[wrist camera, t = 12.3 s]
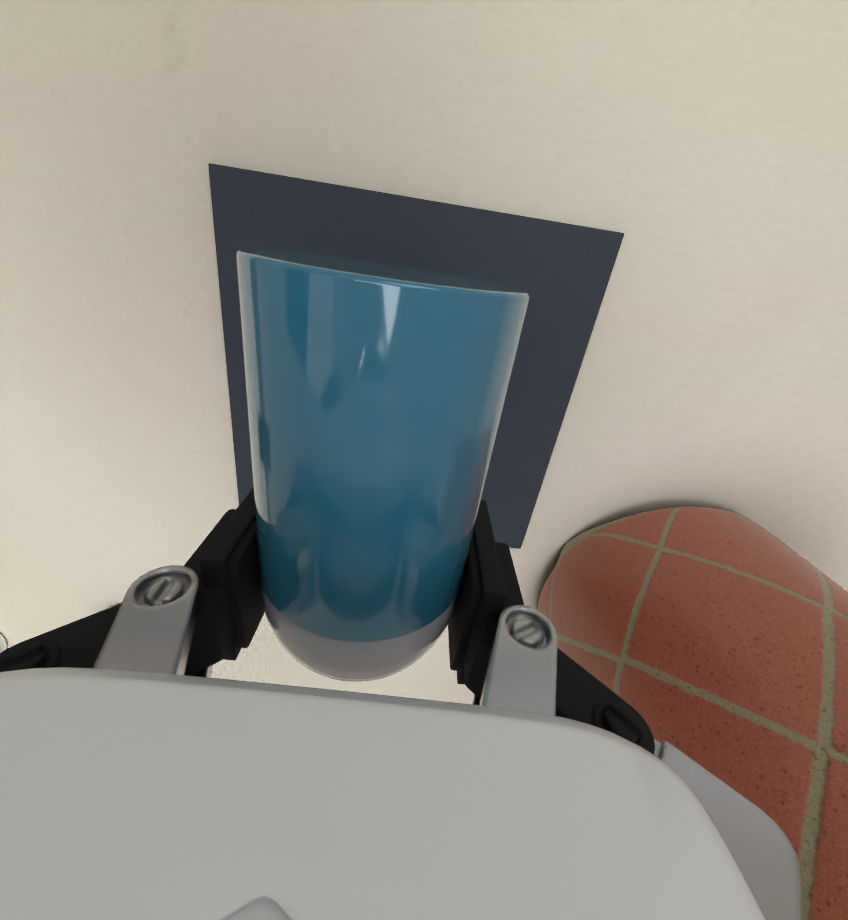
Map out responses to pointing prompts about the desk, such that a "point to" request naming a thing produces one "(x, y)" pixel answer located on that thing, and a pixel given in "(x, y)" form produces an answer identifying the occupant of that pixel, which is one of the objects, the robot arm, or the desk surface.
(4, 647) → the chess piece
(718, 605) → the planter
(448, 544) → the blue domed cylinder
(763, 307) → the desk surface
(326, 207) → the slate mat
